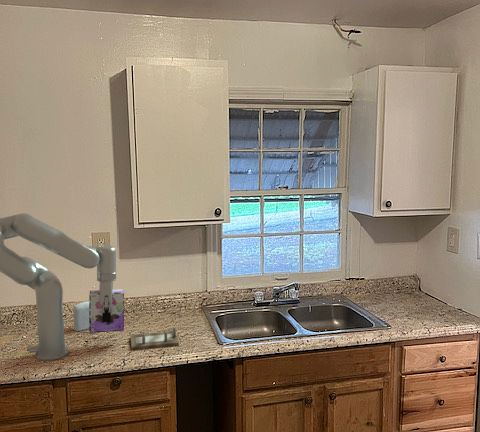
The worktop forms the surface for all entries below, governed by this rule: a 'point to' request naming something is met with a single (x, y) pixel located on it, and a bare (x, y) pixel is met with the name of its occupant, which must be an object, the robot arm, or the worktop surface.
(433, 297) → the worktop surface
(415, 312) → the worktop surface
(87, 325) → the photo printer
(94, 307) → the candy box
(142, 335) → the grey tray
